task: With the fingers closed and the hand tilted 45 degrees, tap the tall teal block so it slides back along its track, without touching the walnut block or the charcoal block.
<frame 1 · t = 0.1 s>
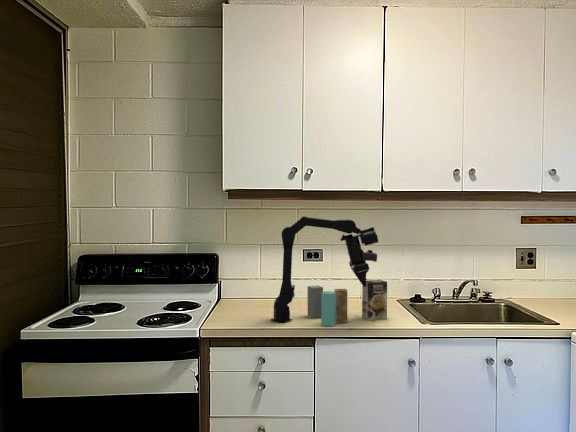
hand: (363, 284, 186), 15 cm above the table, tool pointing down, fingers open, 9 cm apart
coffee box: (374, 318, 191), on the table
teal block: (328, 308, 181), point 7 cm above the table, slide at 0.0 cm
walnut block: (340, 305, 186), point 7 cm above the table, slide at 0.0 cm
charcoal block: (315, 301, 194), point 7 cm above the table, slide at 0.0 cm
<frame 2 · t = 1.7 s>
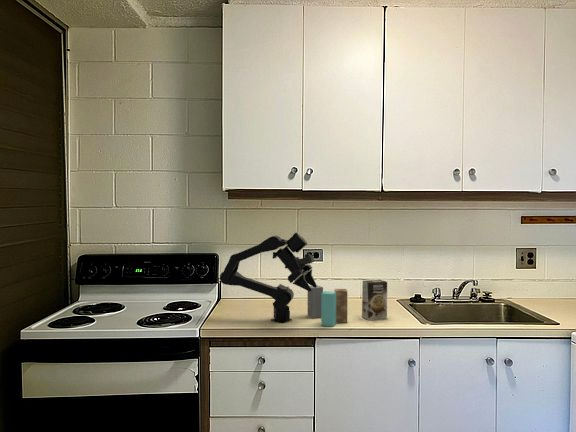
hand: (313, 288, 183), 14 cm above the table, tool tilted 40°, fingers open, 9 cm apart
nothing on the table moved.
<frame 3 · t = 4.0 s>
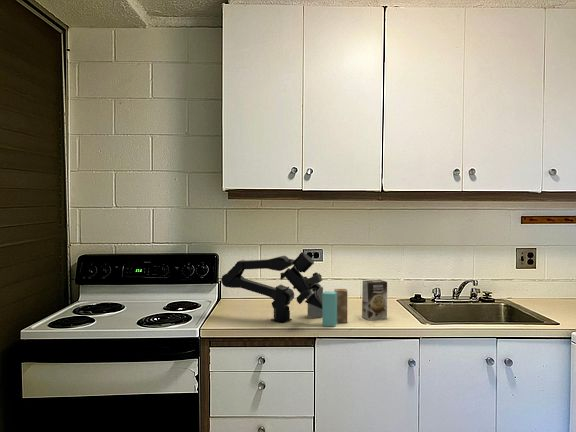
hand: (323, 308, 181), 7 cm above the table, tool tilted 45°, fingers closed, pressing on teal block
teal block: (329, 308, 181), point 7 cm above the table, slide at 0.4 cm, touching gripper
everything else where it was.
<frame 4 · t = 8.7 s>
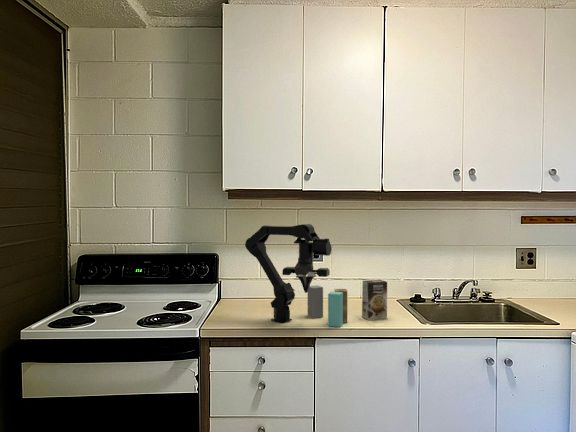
hand: (306, 292, 182), 13 cm above the table, tool pointing down, fingers closed
teal block: (335, 308, 180), point 7 cm above the table, slide at 2.8 cm
everything else where it was.
at the end: teal block slide at 2.8 cm; walnut block slide at 0.0 cm; charcoal block slide at 0.0 cm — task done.
